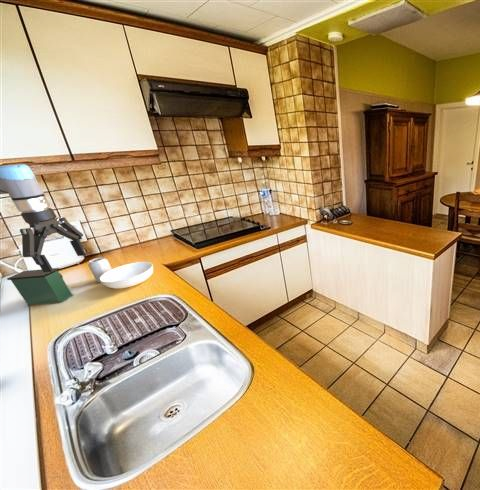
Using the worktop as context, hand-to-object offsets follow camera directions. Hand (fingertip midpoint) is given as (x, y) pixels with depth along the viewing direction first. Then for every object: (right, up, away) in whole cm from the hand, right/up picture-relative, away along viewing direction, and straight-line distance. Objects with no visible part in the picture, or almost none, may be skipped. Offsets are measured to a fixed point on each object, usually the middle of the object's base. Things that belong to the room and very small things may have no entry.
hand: (66, 263), depth 102 cm
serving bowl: (-5, -13, +35) cm, 37 cm away
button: (-34, -11, +26) cm, 44 cm away
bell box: (-33, -19, +23) cm, 45 cm away
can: (-23, -12, +39) cm, 47 cm away
